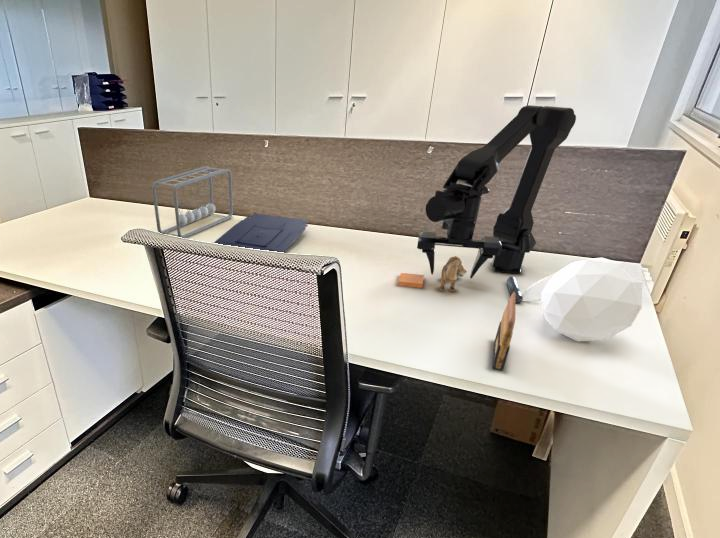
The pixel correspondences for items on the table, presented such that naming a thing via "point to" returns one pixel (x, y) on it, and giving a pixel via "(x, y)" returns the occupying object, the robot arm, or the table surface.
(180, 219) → the newton's cradle
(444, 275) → the lion figurine
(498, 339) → the ammunition clip
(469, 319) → the table surface
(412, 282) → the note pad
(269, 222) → the navy blue flat slab
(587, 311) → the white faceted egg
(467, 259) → the table surface
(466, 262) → the table surface
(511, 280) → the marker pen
